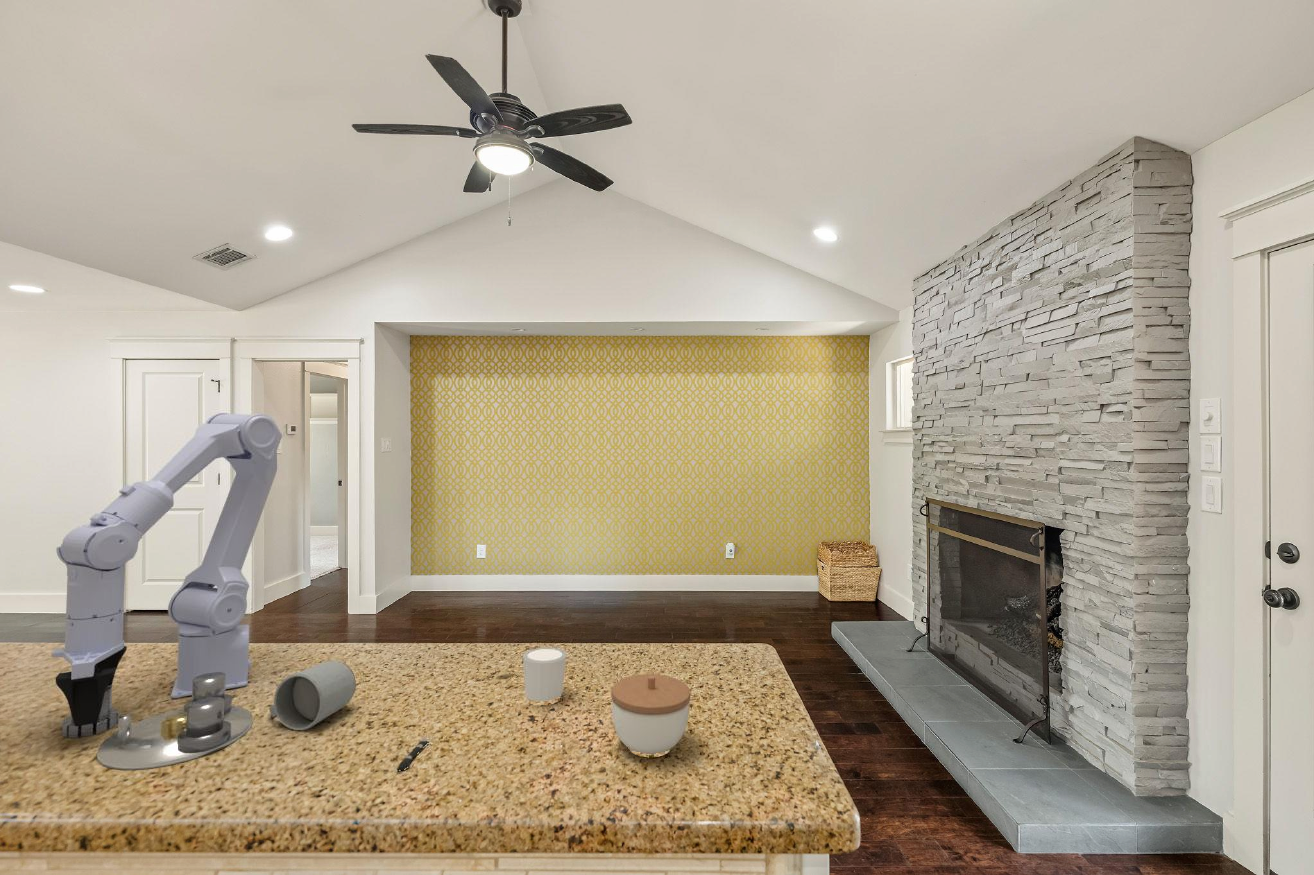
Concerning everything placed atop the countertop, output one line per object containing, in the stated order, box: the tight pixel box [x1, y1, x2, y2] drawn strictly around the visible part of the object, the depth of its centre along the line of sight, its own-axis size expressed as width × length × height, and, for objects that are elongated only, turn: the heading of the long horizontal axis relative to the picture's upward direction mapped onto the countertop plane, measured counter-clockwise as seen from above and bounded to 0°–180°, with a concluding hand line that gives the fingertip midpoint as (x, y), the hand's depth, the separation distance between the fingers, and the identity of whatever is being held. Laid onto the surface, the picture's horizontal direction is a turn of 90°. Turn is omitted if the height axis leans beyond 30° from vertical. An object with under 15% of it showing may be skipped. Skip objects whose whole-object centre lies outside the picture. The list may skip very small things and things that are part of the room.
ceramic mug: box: [269, 660, 357, 731], centre depth 85 cm, size 11×8×8 cm
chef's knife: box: [396, 732, 434, 772], centre depth 81 cm, size 19×1×3 cm
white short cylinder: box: [522, 646, 567, 702], centre depth 94 cm, size 7×7×7 cm
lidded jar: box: [610, 673, 692, 754], centre depth 80 cm, size 11×11×9 cm
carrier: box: [96, 672, 254, 771], centre depth 79 cm, size 16×16×6 cm
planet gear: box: [61, 685, 120, 739], centre depth 80 cm, size 6×6×5 cm
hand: (91, 713), depth 80 cm, fingers open, 6 cm apart
